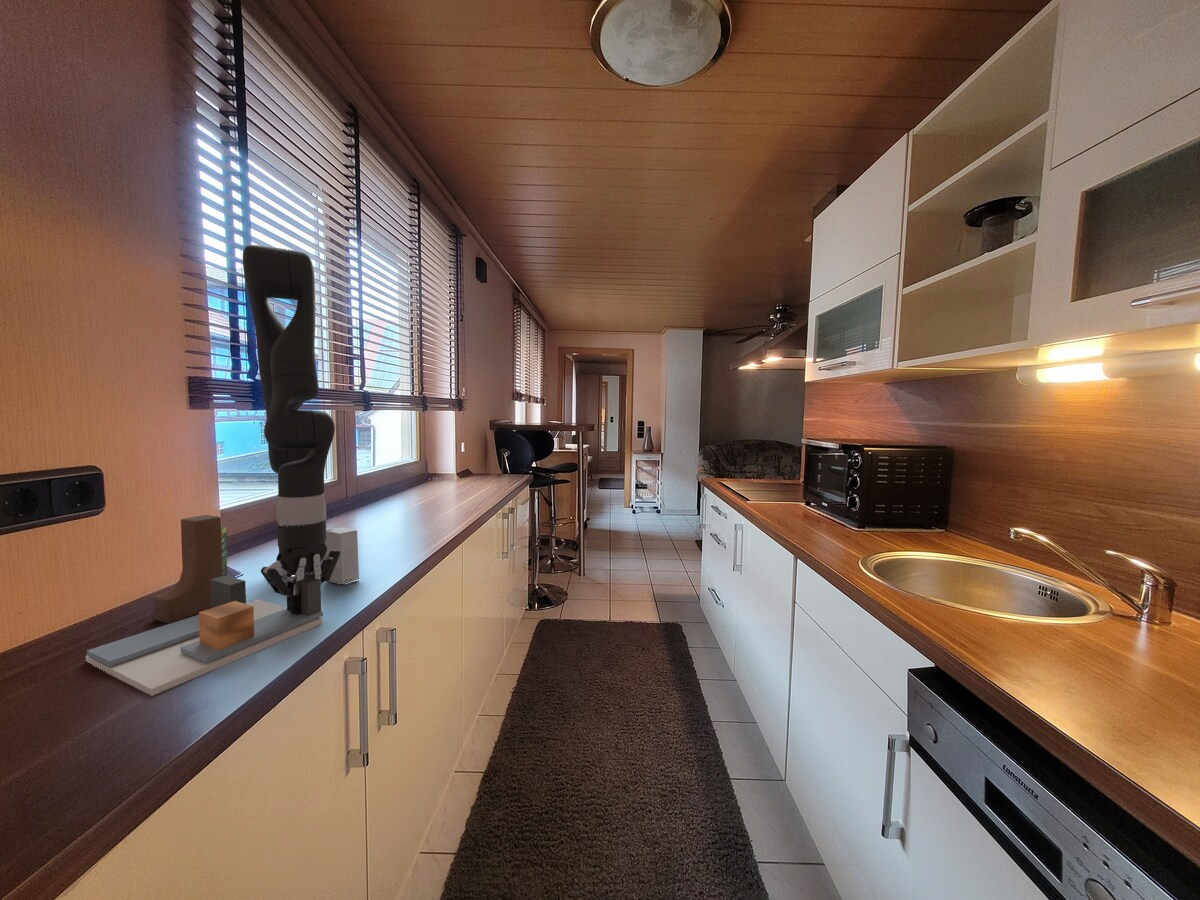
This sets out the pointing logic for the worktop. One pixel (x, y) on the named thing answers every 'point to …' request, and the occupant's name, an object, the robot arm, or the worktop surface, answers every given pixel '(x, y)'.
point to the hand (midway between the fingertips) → (303, 609)
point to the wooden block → (193, 570)
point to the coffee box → (224, 551)
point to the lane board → (189, 658)
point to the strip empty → (168, 627)
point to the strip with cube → (268, 624)
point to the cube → (226, 624)
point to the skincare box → (344, 554)
